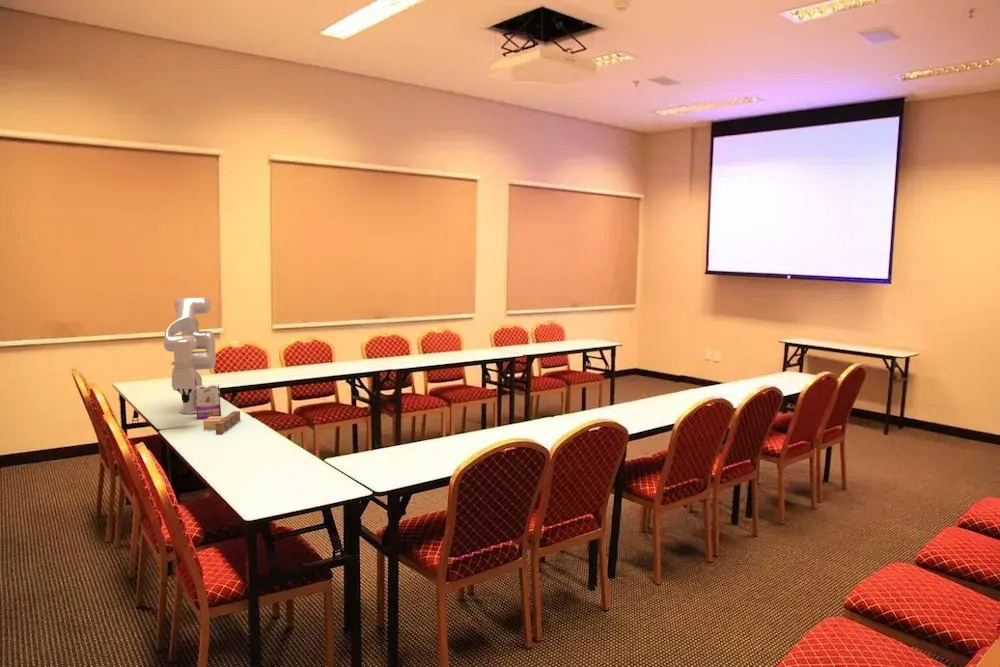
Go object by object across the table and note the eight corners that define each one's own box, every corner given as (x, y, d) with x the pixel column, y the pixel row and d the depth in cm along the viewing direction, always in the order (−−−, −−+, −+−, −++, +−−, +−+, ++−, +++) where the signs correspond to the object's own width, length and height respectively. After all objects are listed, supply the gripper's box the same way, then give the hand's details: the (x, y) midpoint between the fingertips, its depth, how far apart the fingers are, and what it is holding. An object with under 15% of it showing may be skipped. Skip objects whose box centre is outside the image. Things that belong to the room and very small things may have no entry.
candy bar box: (221, 415, 340) (219, 384, 338) (221, 417, 335) (219, 385, 333) (197, 417, 336) (195, 385, 334) (196, 419, 331) (195, 387, 329)
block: (210, 426, 320) (209, 416, 319) (227, 426, 320) (226, 416, 319) (203, 431, 312) (203, 420, 311) (221, 431, 312) (220, 420, 311)
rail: (234, 420, 329) (233, 411, 329) (240, 420, 329) (239, 411, 329) (215, 434, 306) (215, 423, 305) (222, 434, 306) (221, 423, 305)
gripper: (163, 366, 309) (166, 404, 312) (196, 366, 310) (198, 404, 313) (170, 362, 316) (173, 399, 320) (202, 363, 317) (204, 400, 320)
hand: (185, 402), depth 316 cm, fingers closed
